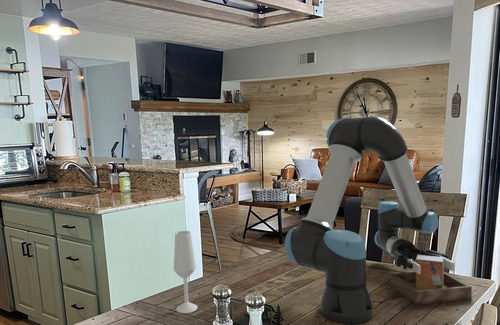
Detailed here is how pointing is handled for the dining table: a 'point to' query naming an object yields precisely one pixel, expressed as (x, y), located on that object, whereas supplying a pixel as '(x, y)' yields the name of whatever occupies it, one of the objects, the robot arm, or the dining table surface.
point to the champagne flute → (184, 265)
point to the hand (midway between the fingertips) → (436, 268)
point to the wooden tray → (448, 293)
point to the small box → (430, 272)
